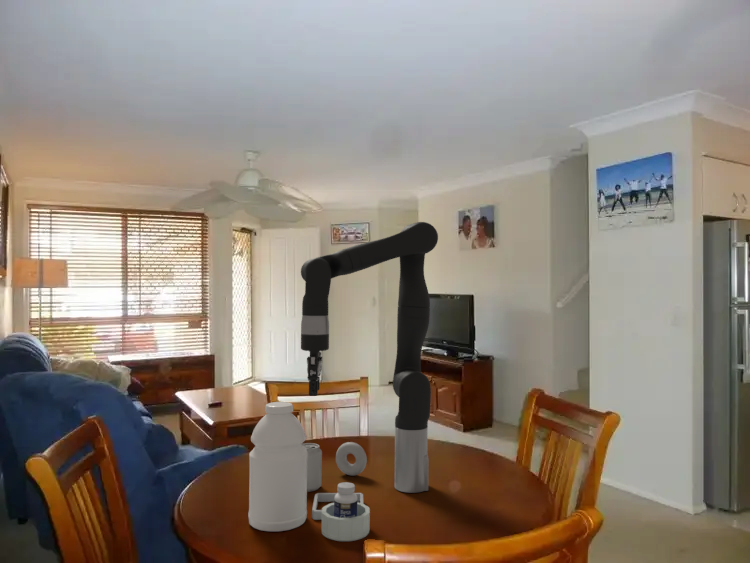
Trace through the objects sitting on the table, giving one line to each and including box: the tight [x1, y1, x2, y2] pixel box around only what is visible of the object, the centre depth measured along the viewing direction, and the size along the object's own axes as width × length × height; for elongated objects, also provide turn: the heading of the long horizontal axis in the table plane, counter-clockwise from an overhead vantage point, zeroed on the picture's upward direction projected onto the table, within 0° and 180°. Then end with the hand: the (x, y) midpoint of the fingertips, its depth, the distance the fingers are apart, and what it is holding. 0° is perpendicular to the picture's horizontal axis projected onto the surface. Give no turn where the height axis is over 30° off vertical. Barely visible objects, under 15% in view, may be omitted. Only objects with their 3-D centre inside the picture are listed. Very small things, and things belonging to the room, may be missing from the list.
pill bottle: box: [333, 481, 357, 518], centre depth 132 cm, size 5×5×10 cm
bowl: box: [320, 502, 371, 542], centre depth 132 cm, size 11×11×5 cm
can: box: [302, 442, 323, 493], centre depth 160 cm, size 8×8×12 cm
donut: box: [335, 441, 368, 477], centre depth 172 cm, size 10×4×10 cm, turn 68°
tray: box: [311, 492, 364, 521], centre depth 144 cm, size 13×13×2 cm
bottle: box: [247, 401, 308, 532], centre depth 137 cm, size 14×14×28 cm
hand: (314, 392), depth 153 cm, fingers open, 8 cm apart
